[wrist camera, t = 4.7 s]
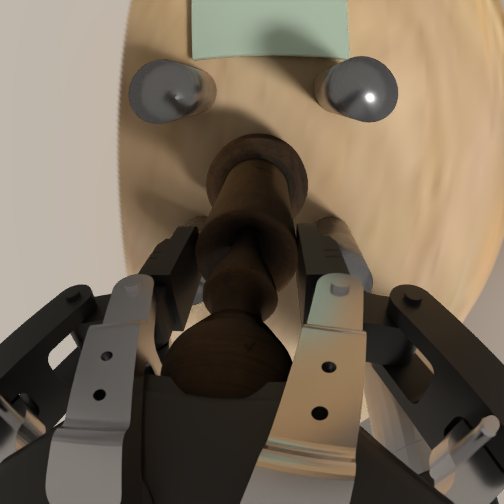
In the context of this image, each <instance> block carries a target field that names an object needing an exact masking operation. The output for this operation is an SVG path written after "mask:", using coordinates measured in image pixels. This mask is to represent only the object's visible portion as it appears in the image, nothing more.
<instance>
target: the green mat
mask: <svg viewBox="0 0 504 504" xmlns="http://www.w3.org/2000/svg"><path fill="white" fill-rule="evenodd" d="M247 56H297V57H316V58H329V59H339V60H348V59H350V58H349V30H348V13H347V0H192V57H193V60H195V61H196V60H205V59H215V58H228V57H247Z"/></svg>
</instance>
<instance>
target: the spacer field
mask: <svg viewBox="0 0 504 504" xmlns="http://www.w3.org/2000/svg"><path fill="white" fill-rule="evenodd" d="M216 92H217V89H216V84H215V82H214V80H213V78H212V77H211V76H210V75H209V74H208V73H206V72H204V71H202V70H199V69H196V68H193V67H190V66H187V65H184V64H181V63H177V62H174V61H171V60H155V61H152V62H150V63H148V64H146V65H144V66H143V67H142V68H141V69H139V70H138V72H137V73H136V74H135V76H134V77H133V79H132V81H131V84H130V87H129V102H130V105H131V107H132V109H133V111H134V112H135V114H136V115H137V116H138V117H139V118H141V119H142V120H144V121H146V122H149V123H153V124H162V123H166V122H170V121H173V120H177V119H181V118H184V117H188V116H192V115H196V114H199V113H202V112H204V111H206V110H207V109H208V108H209V107H210V106H211V105H212V104H213V102H214V100H215V97H216ZM314 95H315V98H316V100H317V102H318V103H319V104H320V106H321V107H323V108H324V109H325V110H327V111H329V112H331V113H335V114H338V115H342V116H345V117H349V118H352V119H355V120H359V121H362V122H376V121H379V120H382V119H384V118H386V117H387V116H388V115H389V114H390V113H391V112H392V111H393V109H394V108H395V106H396V103H397V99H398V87H397V83H396V80H395V78H394V76H393V74H392V73H391V71H390V70H389V69H388V68H387V67H386V66H385V65H384V64H383V63H381V62H380V61H378V60H376V59H373V58H370V57H365V56H358V57H353V58H350V59H348V60H345V61H343V62H341V63H339V64H337V65H335V66H333V67H331V68H329V69H327V70H325V71H323V72H322V73H320V74H319V75H318V77H317V78H316V80H315V83H314ZM207 218H208V217H196V218H194V219H192V220H190V221H189V222H188V223H187V225H186V226H197V228H198V230H199V234H200V232H201V230H202V228H203V226H204V224H205V222H206V220H207ZM315 224H316V225H317V229H318V232H319V235H320V236H330V237H332V238H333V239H334V240H335V241H337V243H338V245H339V247H340V251H341V252H342V255H343V258H344V260H345V263H346V265H347V268H348V270H349V273H350V275H351V276H353V277H355V278H357V279H358V280H359V281H360V282H361V283H362V285H363V289H364V291H365V292H368V293H370V291H371V289H372V285H373V278H372V275H371V273H370V270H369V268H368V266H367V264H366V262H365V260H364V258H363V256H362V254H361V252H360V250H359V248H358V246H357V244H356V242H355V240H354V238H353V236H352V234H351V232H350V230H349V228H348V226H347V225H346V223H345V222H343V221H342V220H340V219H338V218H333V217H328V218H324V219H321V220H319V221H318V222H316V223H315ZM205 282H206V281H205V280H204V278H203V277H202V278H201V281H200V284H199V287H198V290H197V293H196V296H195V299H194V301H193V304H192V305H196V304H199V303H201V302H203V297H202V295H203V287H204V284H205Z"/></svg>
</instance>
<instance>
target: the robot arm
mask: <svg viewBox="0 0 504 504" xmlns="http://www.w3.org/2000/svg"><path fill="white" fill-rule="evenodd" d="M198 236H199V230H198V228H197V226H182V227H178V228H177V229H176V231H175V232H174V234H173V235H172V237H171V238H170V239H165V240H164V241H162V242H161V243H159V244H158V245H157V246H156V248H155V249H154V251H153V253H151V255H150V256H149V259H147V261H146V262H145V264H144V265H143V267H142V269H141V270H140V272H139V273H138V274H135V275H131V276H128V277H125V278H123V279H122V280H120V281H119V282H118V283H117V284H116V285H115V286H114V288H113V291H112V294H109V295H102V296H97V297H94V295H93V293H92V290H91V288H90V287H89V286H87V285H75V286H72V287H69V288H68V289H66V290H64V291H63V292H61V293H60V294H59V295H58V296H56V297H55V298H54V299H53V300H51V301H50V302H49V303H48V304H46V305H45V306H44V307H43V308H42V309H40V310H39V311H38V312H37V313H36V314H34V315H33V316H32V317H31V318H29V319H28V320H27V321H26V322H25V323H24V324H22V325H21V326H20V327H19V328H18V329H17V330H15V331H14V332H13V333H12V334H11V335H10V336H9V337H7V338H6V339H5V340H4V341H3V342H2V343H1V344H0V504H499V503H498V499H497V496H498V494H500V492H501V491H502V490H503V489H504V365H503V364H502V363H501V362H500V360H499V359H498V358H497V357H496V356H495V355H494V354H493V353H492V352H491V351H490V350H489V349H488V348H487V347H486V346H485V345H484V344H483V343H482V342H481V341H480V340H479V339H478V338H477V337H476V336H475V335H474V334H473V333H472V332H470V330H469V329H467V328H466V327H465V326H464V325H463V324H462V323H461V322H460V321H459V320H458V319H457V318H456V317H455V316H454V315H453V314H452V313H451V312H449V311H448V310H447V309H446V308H445V307H444V306H443V305H442V304H441V303H439V302H438V301H437V300H436V299H435V298H434V297H433V296H432V295H430V294H429V293H428V292H427V291H426V290H424V289H422V288H420V287H417V286H414V285H399V286H397V287H395V288H393V290H392V291H391V293H390V297H386V296H380V295H375V294H371V293H368V292H365V291H364V289H363V285H362V283H361V282H360V281H359V280H358V279H357V278H355V277H353V276H351V275H350V273H349V270H348V268H347V265H346V263H345V260H344V258H343V255H342V252H341V251H340V247H339V245H338V243H337V241H335V240H334V239H333V238H332V237H330V236H320V235H319V232H318V229H317V225H316V224H297V231H296V240H297V246H298V265H297V268H296V277H297V286H298V295H299V305H300V314H301V324H302V331H301V335H300V339H299V342H298V346H297V349H296V353H295V356H294V360H293V363H292V366H291V370H290V373H289V376H288V380H287V382H267V383H266V385H265V386H263V387H262V388H261V389H260V390H259V391H257V392H256V393H254V394H252V395H251V396H249V397H247V398H234V397H233V398H212V397H204V396H199V395H191V394H186V393H185V392H183V391H182V390H181V389H180V388H178V387H177V385H176V384H175V383H174V382H173V380H172V378H171V377H167V376H160V373H161V367H162V364H163V361H164V358H165V356H166V354H167V352H168V350H169V348H170V347H171V345H172V341H171V338H170V336H171V334H172V331H184V328H185V325H186V322H187V319H188V316H189V313H190V310H191V307H192V304H193V301H194V299H195V296H196V293H197V290H198V287H199V284H200V281H201V278H202V275H201V273H200V271H199V269H198V266H197V260H196V255H195V246H196V242H197V239H198ZM69 334H71V335H72V337H73V339H74V341H75V342H76V344H77V346H78V347H77V348H76V349H75V350H74V351H73V352H72V353H70V354H69V355H68V356H67V357H66V358H65V359H64V360H63V361H62V362H61V363H60V364H59V365H58V366H57V367H56V368H55V369H54V370H52V368H51V367H50V365H49V363H48V356H49V353H50V352H51V351H52V349H54V348H55V347H56V346H57V345H58V344H59V343H60V342H61V341H62V340H63V339H64V338H65V337H66V336H68V335H69ZM363 389H364V393H365V398H366V403H367V408H368V413H369V418H370V423H371V429H372V435H373V436H371V435H370V434H369V433H368V432H367V431H366V430H364V429H363V428H362V427H361V426H360V418H361V409H362V399H363ZM19 394H20V395H19ZM65 414H66V417H65V420H64V421H63V422H61V423H60V424H58V425H57V426H55V425H56V424H57V422H58V421H59V420H60V419H61V418H62V417H63V416H64V415H65ZM54 426H55V427H54Z"/></svg>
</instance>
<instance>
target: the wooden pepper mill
mask: <svg viewBox="0 0 504 504" xmlns="http://www.w3.org/2000/svg"><path fill="white" fill-rule="evenodd" d="M206 188H207V195H208V198H209V201H210V203H211V205H212V207H213V208H212V210H211V212H210V214H209V216H208V218H207V220H206V222H205V224H204V226H203V228H202V230H201V232H200V234H199V236H198V239H197V242H196V246H195V255H196V260H197V266H198V269H199V271H200V273H201V275H202V277H203V278H204V280H205V281H206V282H205V284H204V287H203V295H202V297H203V302H204V304H205V306H206V308H207V310H208V311H209V312H210V313H211V315H209V316H208V317H206V318H204V319H203V320H201V321H200V322H198V323H196V324H195V325H193V326H192V327H190V328H189V329H187V330H186V331H185V332H183V333H182V334H181V335H180V336H179V337H178V338H177V339H176V340H175V341H174V342H173V344H172V345H171V347H170V348H169V350H168V352H167V354H166V356H165V358H164V361H163V364H162V367H161V373H160V376H167V377H171V378H172V380H173V382H174V383H175V384H176V385H177V387H178V388H180V389H181V390H182V391H183V392H185V393H186V394H191V395H199V396H204V397H212V398H233V397H234V398H247V397H249V396H251V395H252V394H254V393H256V392H257V391H259V390H260V389H261V388H262V387H263V386H265V385H266V383H267V382H287V380H288V376H289V373H290V370H291V366H292V363H293V362H292V360H291V357H290V355H289V353H288V351H287V350H286V348H285V347H284V345H283V344H282V343H281V341H280V340H279V339H278V338H277V337H276V336H275V334H274V333H273V332H272V331H271V330H270V329H269V328H268V326H267V325H266V324H265V323H264V322H263V321H265V320H266V319H268V318H269V317H270V316H271V315H272V314H273V312H274V311H275V309H276V306H277V302H278V295H277V292H279V291H280V290H281V289H283V288H284V287H285V286H286V285H287V284H288V283H289V281H290V280H291V279H292V277H293V276H294V273H295V271H296V268H297V265H298V246H297V240H296V235H295V229H294V223H293V218H294V217H295V216H296V215H297V214H298V212H299V211H300V209H301V208H302V206H303V204H304V202H305V199H306V196H307V191H308V179H307V174H306V170H305V168H304V165H303V163H302V160H301V158H300V157H299V155H298V154H297V152H296V151H295V150H294V149H293V148H292V147H291V146H290V145H289V144H288V143H286V142H285V141H283V140H281V139H280V138H277V137H275V136H272V135H268V134H249V135H245V136H241V137H239V138H237V139H235V140H233V141H231V142H230V143H229V144H227V145H226V146H225V147H224V148H223V149H222V150H221V151H220V152H219V154H218V155H217V156H216V158H215V159H214V161H213V162H212V164H211V166H210V169H209V171H208V175H207V182H206Z"/></svg>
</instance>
